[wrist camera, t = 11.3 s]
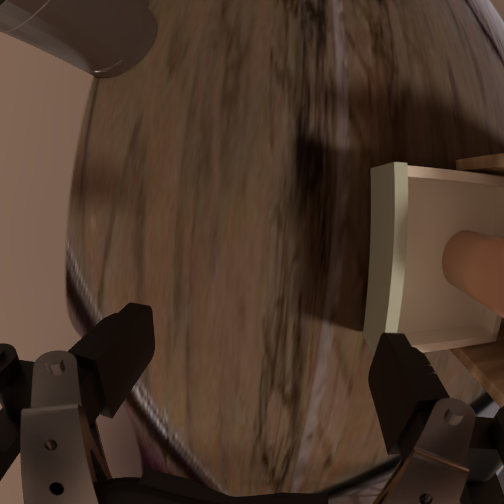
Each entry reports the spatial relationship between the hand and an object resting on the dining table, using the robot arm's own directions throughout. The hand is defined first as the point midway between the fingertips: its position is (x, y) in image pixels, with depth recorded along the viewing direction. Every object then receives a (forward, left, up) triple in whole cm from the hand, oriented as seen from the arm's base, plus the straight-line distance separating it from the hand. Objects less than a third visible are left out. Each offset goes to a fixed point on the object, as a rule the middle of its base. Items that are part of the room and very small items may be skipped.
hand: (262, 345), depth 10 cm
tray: (0, +15, -16) cm, 22 cm away
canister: (0, +17, -15) cm, 22 cm away
